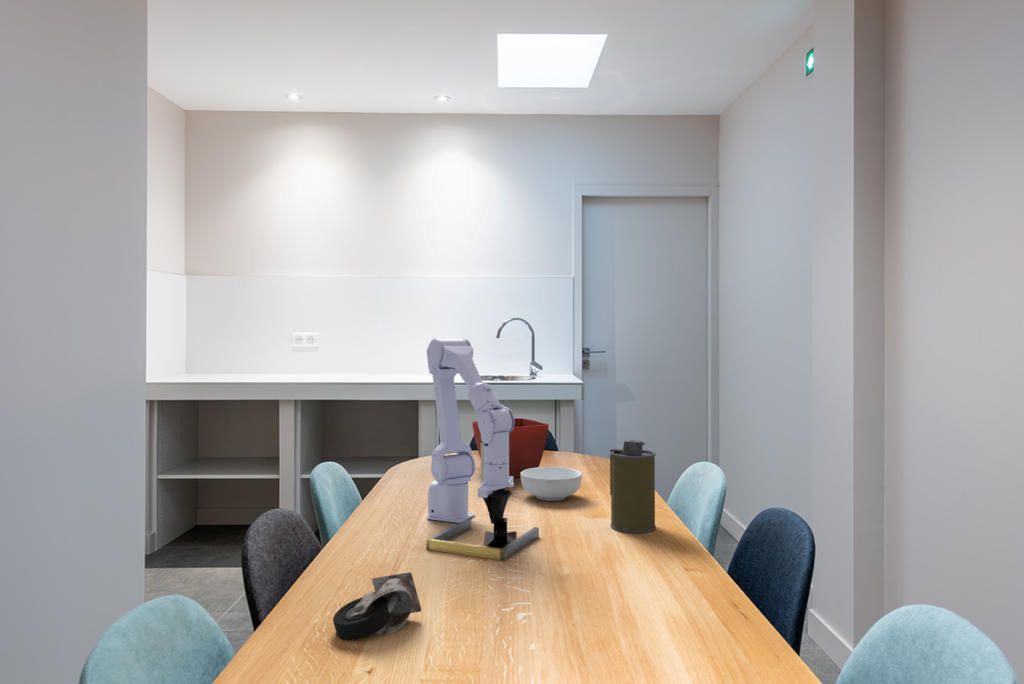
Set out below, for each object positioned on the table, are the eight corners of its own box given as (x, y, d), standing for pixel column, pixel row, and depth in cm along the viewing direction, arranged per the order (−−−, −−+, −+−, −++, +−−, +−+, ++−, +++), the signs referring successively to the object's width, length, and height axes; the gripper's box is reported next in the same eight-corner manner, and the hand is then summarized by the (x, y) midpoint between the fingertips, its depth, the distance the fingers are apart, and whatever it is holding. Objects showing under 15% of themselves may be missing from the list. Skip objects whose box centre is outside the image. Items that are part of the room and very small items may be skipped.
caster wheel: (332, 657, 99) (356, 619, 109) (404, 647, 97) (423, 609, 107) (319, 615, 98) (345, 581, 108) (392, 604, 96) (412, 570, 106)
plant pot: (496, 482, 208) (496, 427, 208) (471, 472, 225) (471, 421, 225) (550, 476, 216) (550, 424, 216) (521, 466, 233) (521, 418, 233)
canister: (664, 526, 158) (664, 441, 158) (640, 536, 150) (639, 446, 150) (625, 518, 166) (624, 436, 165) (600, 527, 158) (599, 441, 158)
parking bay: (426, 549, 142) (426, 539, 142) (467, 527, 158) (467, 518, 158) (504, 560, 134) (504, 550, 134) (538, 536, 150) (538, 527, 150)
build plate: (517, 549, 142) (517, 527, 142) (482, 550, 142) (482, 528, 142) (516, 532, 154) (516, 512, 154) (484, 532, 154) (484, 512, 154)
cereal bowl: (511, 501, 183) (511, 475, 183) (532, 489, 199) (532, 465, 199) (571, 507, 177) (571, 480, 177) (588, 493, 192) (588, 468, 192)
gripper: (498, 469, 143) (498, 533, 143) (525, 458, 156) (525, 517, 157) (468, 467, 146) (469, 529, 146) (497, 456, 159) (498, 514, 159)
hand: (496, 523), depth 152 cm, fingers closed
